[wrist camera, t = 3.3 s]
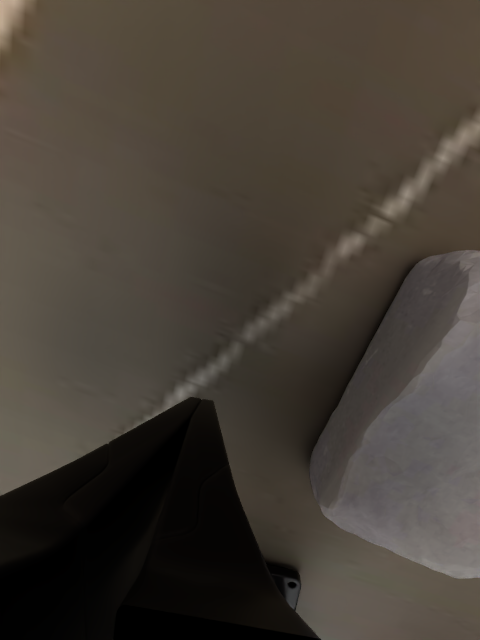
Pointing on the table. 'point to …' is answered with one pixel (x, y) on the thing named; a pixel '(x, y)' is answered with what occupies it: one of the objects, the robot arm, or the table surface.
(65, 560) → the robot arm
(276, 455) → the table surface
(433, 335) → the stone block
